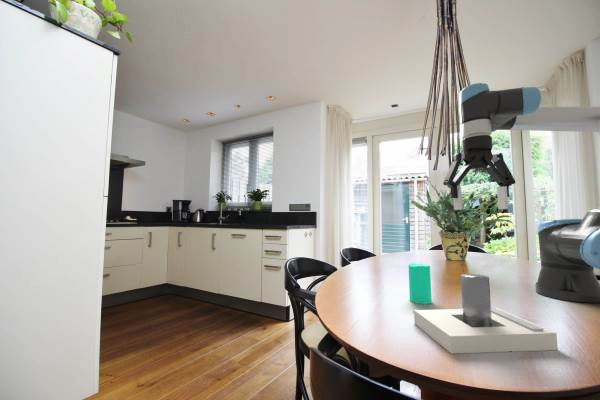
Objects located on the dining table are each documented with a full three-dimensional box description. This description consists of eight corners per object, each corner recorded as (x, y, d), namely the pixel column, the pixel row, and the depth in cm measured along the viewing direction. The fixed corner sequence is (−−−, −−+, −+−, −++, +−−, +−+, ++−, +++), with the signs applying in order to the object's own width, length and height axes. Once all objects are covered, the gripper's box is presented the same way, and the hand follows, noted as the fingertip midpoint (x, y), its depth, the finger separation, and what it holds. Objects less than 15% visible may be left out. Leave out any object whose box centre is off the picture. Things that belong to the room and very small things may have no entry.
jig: (498, 321, 63) (497, 306, 63) (557, 349, 49) (556, 330, 49) (414, 323, 62) (413, 308, 62) (451, 353, 48) (450, 333, 48)
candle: (434, 304, 76) (432, 261, 77) (411, 303, 77) (410, 260, 78) (428, 298, 82) (427, 258, 83) (407, 297, 83) (406, 257, 84)
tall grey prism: (480, 329, 58) (477, 273, 59) (499, 340, 53) (495, 278, 54) (458, 330, 58) (455, 274, 59) (474, 341, 53) (471, 279, 54)
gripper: (506, 141, 84) (511, 209, 82) (428, 141, 83) (432, 210, 81) (527, 133, 77) (533, 208, 75) (442, 133, 75) (446, 209, 74)
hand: (480, 209), depth 78 cm, fingers open, 13 cm apart
